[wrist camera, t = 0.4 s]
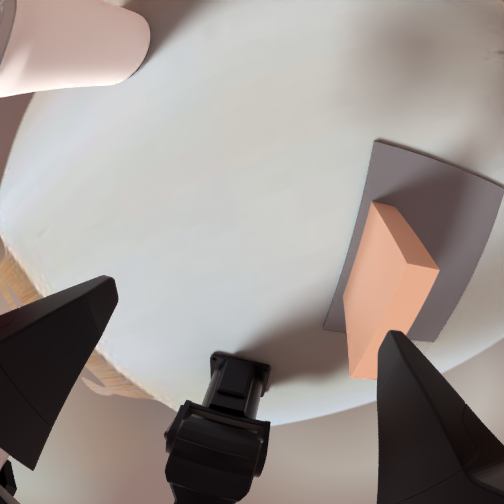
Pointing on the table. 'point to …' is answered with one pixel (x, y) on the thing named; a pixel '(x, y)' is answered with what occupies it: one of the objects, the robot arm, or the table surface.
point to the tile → (384, 286)
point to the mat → (427, 227)
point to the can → (68, 44)
